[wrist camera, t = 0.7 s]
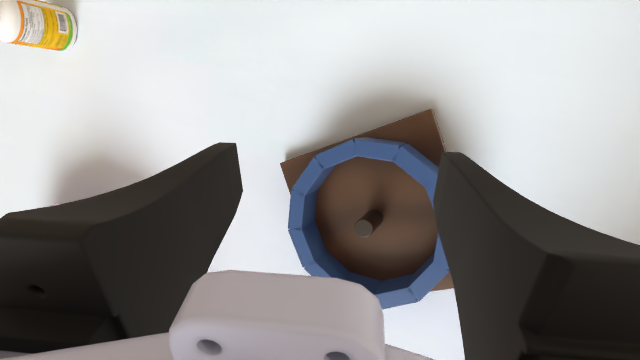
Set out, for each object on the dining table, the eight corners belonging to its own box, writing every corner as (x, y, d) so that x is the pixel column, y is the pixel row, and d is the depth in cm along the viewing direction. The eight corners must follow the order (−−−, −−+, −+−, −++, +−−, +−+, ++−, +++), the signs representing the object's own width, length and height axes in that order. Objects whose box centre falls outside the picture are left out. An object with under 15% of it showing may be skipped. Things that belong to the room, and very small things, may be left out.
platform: (487, 278, 32) (488, 302, 27) (331, 302, 38) (313, 324, 34) (432, 109, 31) (425, 108, 27) (284, 162, 38) (260, 167, 33)
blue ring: (484, 273, 31) (485, 288, 28) (335, 306, 37) (324, 321, 34) (420, 112, 31) (415, 111, 28) (282, 171, 37) (266, 176, 34)
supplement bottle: (45, 32, 49) (-51, 13, 40) (60, -3, 46) (-38, -30, 38) (67, 60, 48) (-26, 48, 39) (84, 26, 46) (-11, 5, 37)
